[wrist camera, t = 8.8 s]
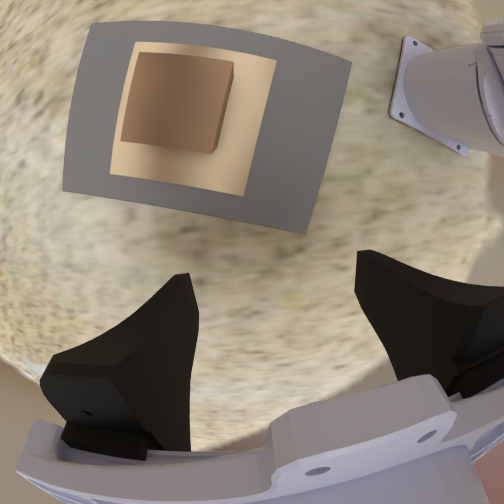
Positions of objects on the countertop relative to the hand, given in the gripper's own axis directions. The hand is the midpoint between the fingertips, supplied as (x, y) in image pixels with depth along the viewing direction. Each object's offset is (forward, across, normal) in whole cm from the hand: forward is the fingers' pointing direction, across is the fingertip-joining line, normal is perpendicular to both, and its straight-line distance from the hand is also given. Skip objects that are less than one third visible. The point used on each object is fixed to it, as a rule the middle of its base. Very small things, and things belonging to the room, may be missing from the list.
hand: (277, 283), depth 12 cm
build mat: (+10, +4, -8) cm, 13 cm away
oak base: (+10, +4, -8) cm, 13 cm away
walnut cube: (+8, +4, -8) cm, 12 cm away
